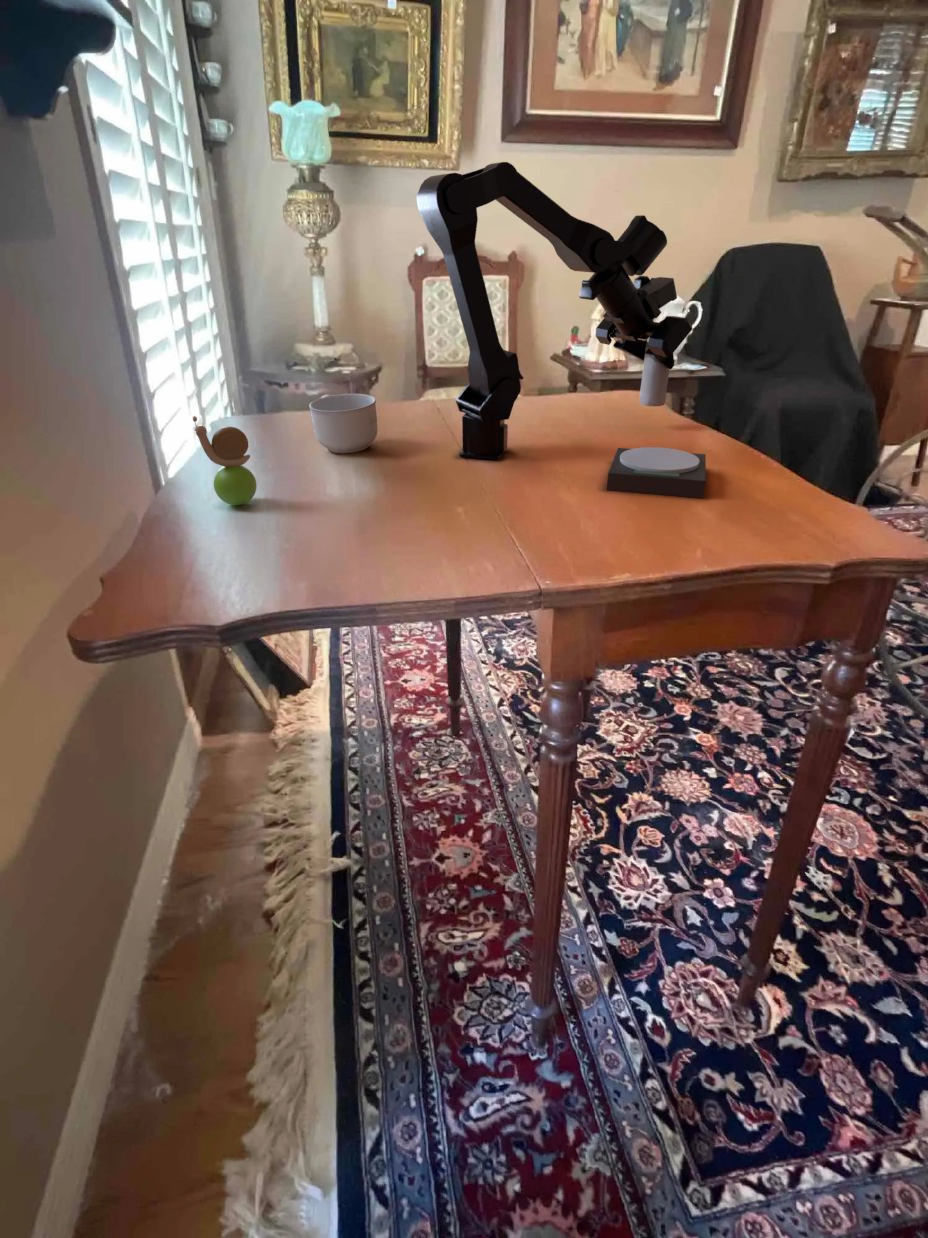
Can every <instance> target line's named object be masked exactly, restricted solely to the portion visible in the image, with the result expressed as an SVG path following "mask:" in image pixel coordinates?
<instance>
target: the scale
mask: <svg viewBox="0 0 928 1238" xmlns="http://www.w3.org/2000/svg"><path fill="white" fill-rule="evenodd" d="M706 455H707V454H705V453H695V452H689V451H684V450H681V449H676V448H669V447H657V446H646V447H644V446H643V447H634V448H627V447H617V449H616V452H615V455H614V458H613V460H612V462H611V465H610V467H609V469H608V472H607V479H606V480H607V481H606V491H614V492H615V491H616V492H625V493H638V494H649V495H659V496H672V497H682V498H693V499H703V498H704V494H705V493H704V492H705V487H706V483H707V482H706V478H707V477H706V476H707V475H706V474H707V473H706V470H707V469H706V468H707V467H706V466H707V465H706V464H707V463H706V459H707V458H706Z"/></svg>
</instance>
